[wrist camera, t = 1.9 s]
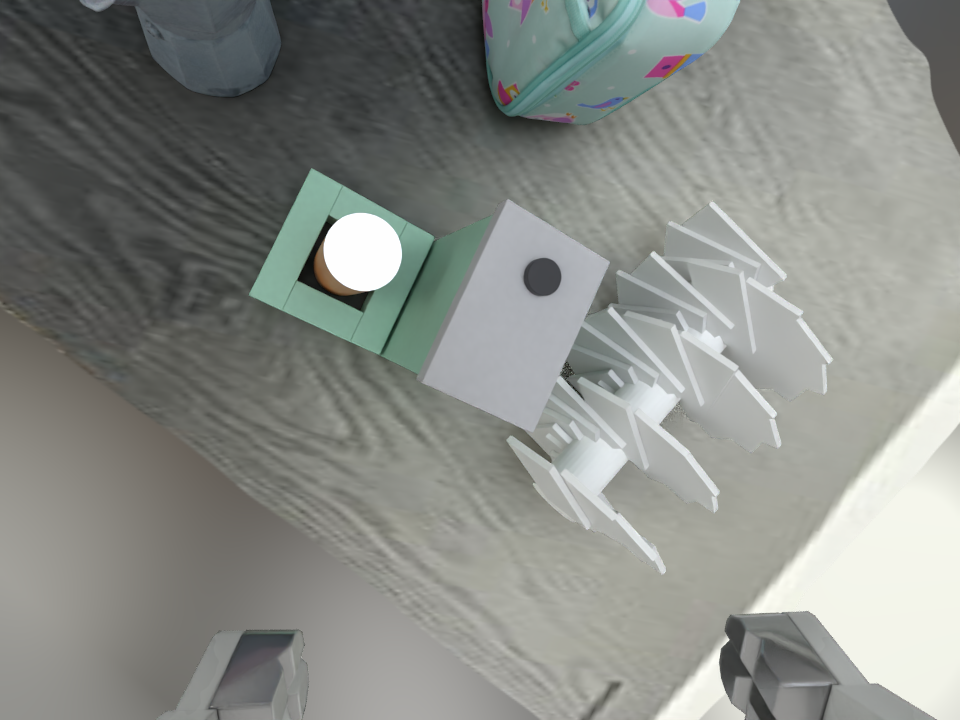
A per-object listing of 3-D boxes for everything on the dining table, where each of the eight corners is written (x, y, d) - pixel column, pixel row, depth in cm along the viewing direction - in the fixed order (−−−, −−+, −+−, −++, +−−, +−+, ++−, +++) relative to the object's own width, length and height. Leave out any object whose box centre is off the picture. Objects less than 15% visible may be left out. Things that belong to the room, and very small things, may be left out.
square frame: (250, 296, 42) (248, 295, 39) (309, 177, 42) (311, 167, 39) (373, 352, 45) (379, 355, 42) (426, 241, 45) (435, 236, 43)
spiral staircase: (678, 322, 59) (519, 497, 53) (642, 181, 47) (434, 385, 42) (868, 390, 46) (684, 633, 40) (882, 219, 34) (626, 525, 29)
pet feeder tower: (372, 356, 45) (424, 384, 28) (427, 238, 45) (512, 196, 29) (447, 390, 47) (538, 436, 30) (499, 277, 48) (617, 260, 31)
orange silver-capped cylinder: (303, 279, 43) (310, 268, 31) (328, 228, 43) (344, 198, 31) (356, 305, 44) (382, 304, 32) (380, 255, 44) (414, 236, 33)
